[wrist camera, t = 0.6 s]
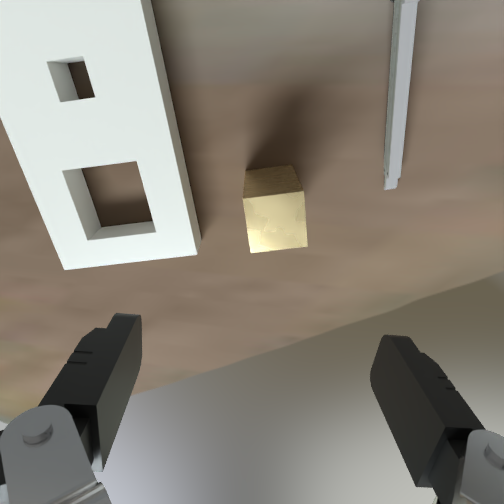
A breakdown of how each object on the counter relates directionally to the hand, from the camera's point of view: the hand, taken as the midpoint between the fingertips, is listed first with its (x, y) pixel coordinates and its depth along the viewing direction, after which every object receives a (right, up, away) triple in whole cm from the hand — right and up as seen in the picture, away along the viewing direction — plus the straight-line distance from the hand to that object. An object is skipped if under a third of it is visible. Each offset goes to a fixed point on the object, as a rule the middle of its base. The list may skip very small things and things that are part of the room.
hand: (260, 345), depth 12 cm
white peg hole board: (-12, +12, +17) cm, 25 cm away
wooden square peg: (+1, +9, +19) cm, 21 cm away
